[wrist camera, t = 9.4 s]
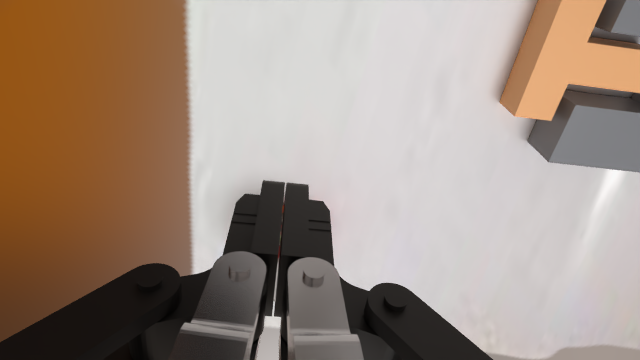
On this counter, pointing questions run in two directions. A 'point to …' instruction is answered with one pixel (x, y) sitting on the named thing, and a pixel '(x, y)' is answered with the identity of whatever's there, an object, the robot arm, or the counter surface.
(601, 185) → the counter surface
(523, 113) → the t block
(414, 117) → the counter surface
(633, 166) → the dock
